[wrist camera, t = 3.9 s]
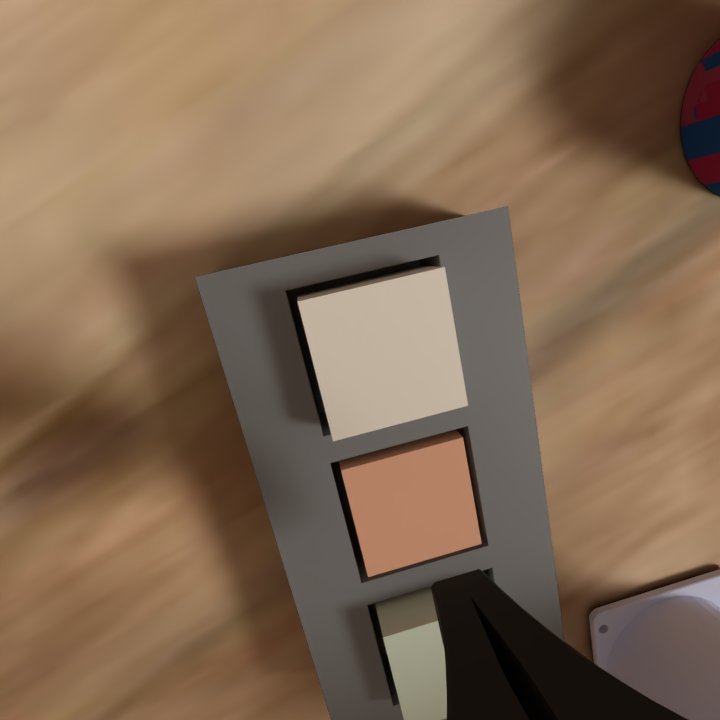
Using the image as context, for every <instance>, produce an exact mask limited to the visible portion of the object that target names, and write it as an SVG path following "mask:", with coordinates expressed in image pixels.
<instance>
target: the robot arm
mask: <svg viewBox="0 0 720 720" xmlns="http://www.w3.org/2000/svg"><path fill="white" fill-rule="evenodd" d="M431 591H432V595H433V600H434V605H435V609H436V614H437V619H438V623H439V628H440V633H441V637H442V642H443V646H444V652H445V664H446V688H447V720H720V569H718V570H715V571H712V572H709V573H706V574H703V575H699V576H696V577H693V578H690V579H687V580H684V581H680V582H677V583H674V584H671V585H668V586H665V587H661V588H658V589H655V590H652V591H649V592H646V593H642V594H639V595H636V596H633V597H630V598H627V599H623V600H620V601H617V602H614V603H611V604H608V605H604V606H601V607H598V608H596V609H594V610H593V611H592V612H591V613H590V615H589V622H590V631H591V640H592V649H593V658H594V663H593V662H592V661H590V660H589V659H587V658H586V657H585V656H583V655H582V654H580V653H579V652H578V651H576V650H575V649H574V648H572V647H571V646H570V645H568V644H567V643H565V642H564V641H563V640H561V639H560V638H559V637H558V636H556V635H555V634H554V633H552V632H551V631H550V630H549V629H547V628H546V627H545V626H544V625H543V624H541V623H540V622H539V621H538V620H536V619H535V618H534V617H533V616H532V615H530V614H529V613H528V612H527V611H526V610H524V609H523V608H522V607H521V606H520V605H519V604H517V603H516V602H515V601H514V600H513V599H512V598H511V597H510V596H508V595H507V594H506V593H505V592H504V591H503V590H502V589H501V588H500V587H499V586H498V585H497V584H496V583H495V582H493V581H492V580H491V579H490V578H489V577H488V576H487V575H486V574H485V573H484V572H483V571H482V570H480V569H477V570H474V571H470V572H467V573H464V574H460V575H457V576H454V577H450V578H447V579H444V580H440V581H437V582H434V583H433V585H432V586H431Z"/></svg>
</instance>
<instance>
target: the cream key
mask: <svg viewBox="0 0 720 720" xmlns="http://www.w3.org/2000/svg"><path fill="white" fill-rule="evenodd" d="M297 302H298V306H299V310H300V314H301V318H302V321H303V325H304V329H305V333H306V337H307V341H308V345H309V349H310V353H311V357H312V361H313V365H314V369H315V373H316V376H317V380H318V384H319V388H320V392H321V396H322V400H323V404H324V408H325V412H326V416H327V420H328V424H329V428H330V431H331V435H332V439H333V441H337V440H341V439H344V438H348V437H352V436H356V435H360V434H363V433H367V432H371V431H375V430H378V429H382V428H386V427H390V426H393V425H397V424H401V423H405V422H409V421H412V420H416V419H420V418H424V417H427V416H431V415H435V414H439V413H442V412H446V411H450V410H454V409H458V408H461V407H465V406H468V401H467V395H466V389H465V383H464V377H463V372H462V366H461V360H460V354H459V348H458V342H457V336H456V330H455V324H454V318H453V312H452V306H451V300H450V295H449V289H448V283H447V277H446V271H445V267H434V266H422V267H418V268H413V269H409V270H405V271H400V272H396V273H392V274H388V275H383V276H379V277H375V278H371V279H366V280H362V281H358V282H354V283H349V284H345V285H341V286H336V287H332V288H328V289H324V290H319V291H315V292H311V293H307V294H302V295H298V296H297Z"/></svg>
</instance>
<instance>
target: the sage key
mask: <svg viewBox="0 0 720 720" xmlns="http://www.w3.org/2000/svg"><path fill="white" fill-rule="evenodd" d="M375 605H376V610H377V614H378V618H379V623H380V627H381V631H382V635H383V640H384V644H385V647H386V651H387V655H388V659H389V663H390V667H391V671H392V675H393V679H394V683H395V687H396V691H397V695H398V698H399V702H400V706H401V710H402V714H403V718H404V720H442V719H445V718H447V688H446V664H445V652H444V646H443V642H442V637H441V633H440V628H439V623H438V619H437V614H436V609H435V605H434V600H433V595H432V591H431V586H430V587H426V588H423V589H420V590H416V591H413V592H410V593H406V594H403V595H400V596H396V597H393V598H390V599H386V600H383V601H380V602H376V603H375Z"/></svg>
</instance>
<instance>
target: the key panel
mask: <svg viewBox="0 0 720 720" xmlns="http://www.w3.org/2000/svg"><path fill="white" fill-rule="evenodd" d="M422 266H434V267H445V271H446V277H447V283H448V289H449V295H450V300H451V306H452V312H453V318H454V324H455V330H456V336H457V342H458V348H459V354H460V360H461V366H462V372H463V377H464V383H465V389H466V395H467V401H468V406H465V407H461V408H458V409H454V410H450V411H446V412H442V413H439V414H435V415H431V416H427V417H424V418H420V419H416V420H412V421H409V422H405V423H401V424H397V425H393V426H390V427H386V428H382V429H378V430H375V431H371V432H367V433H363V434H360V435H356V436H352V437H348V438H344V439H341V440H337V441H333V439H332V435H331V431H330V428H329V424H328V420H327V416H326V412H325V408H324V404H323V400H322V396H321V392H320V388H319V384H318V380H317V376H316V373H315V369H314V365H313V361H312V357H311V353H310V349H309V345H308V341H307V337H306V333H305V329H304V325H303V321H302V318H301V314H300V310H299V306H298V302H297V296H298V295H302V294H307V293H311V292H315V291H319V290H324V289H328V288H332V287H336V286H341V285H345V284H349V283H354V282H358V281H362V280H366V279H371V278H375V277H379V276H383V275H388V274H392V273H396V272H400V271H405V270H409V269H413V268H418V267H422ZM195 279H196V282H197V286H198V289H199V292H200V295H201V299H202V302H203V305H204V308H205V312H206V315H207V318H208V321H209V325H210V328H211V331H212V334H213V338H214V341H215V344H216V347H217V351H218V354H219V357H220V360H221V364H222V367H223V370H224V373H225V377H226V380H227V383H228V386H229V390H230V393H231V396H232V399H233V403H234V406H235V409H236V412H237V416H238V419H239V422H240V425H241V429H242V432H243V435H244V438H245V442H246V445H247V448H248V451H249V455H250V458H251V461H252V464H253V468H254V471H255V474H256V477H257V481H258V484H259V487H260V490H261V494H262V497H263V500H264V503H265V506H266V510H267V513H268V516H269V519H270V523H271V526H272V529H273V532H274V536H275V539H276V542H277V545H278V549H279V552H280V555H281V558H282V562H283V565H284V568H285V571H286V575H287V578H288V581H289V584H290V588H291V591H292V594H293V597H294V601H295V604H296V607H297V610H298V614H299V617H300V620H301V623H302V627H303V630H304V633H305V636H306V640H307V643H308V646H309V649H310V653H311V656H312V659H313V662H314V666H315V669H316V672H317V675H318V679H319V682H320V685H321V688H322V692H323V695H324V698H325V701H326V705H327V708H328V711H329V714H330V718H331V720H404V718H403V714H402V710H401V706H400V702H399V698H398V695H397V691H396V687H395V683H394V679H393V675H392V671H391V667H390V663H389V659H388V655H387V651H386V647H385V644H384V640H383V635H382V631H381V627H380V623H379V618H378V614H377V610H376V605H375V603H376V602H380V601H383V600H386V599H390V598H393V597H396V596H400V595H403V594H406V593H410V592H413V591H416V590H420V589H423V588H426V587H430V586H432V585H433V583H434V582H437V581H440V580H444V579H447V578H450V577H454V576H457V575H460V574H464V573H467V572H470V571H474V570H477V569H480V570H482V571H483V572H484V573H485V574H486V575H487V576H488V577H489V578H490V579H491V580H492V581H493V582H495V583H496V584H497V585H498V586H499V587H500V588H501V589H502V590H503V591H504V592H505V593H506V594H507V595H508V596H510V597H511V598H512V599H513V600H514V601H515V602H516V603H517V604H519V605H520V606H521V607H522V608H523V609H524V610H526V611H527V612H528V613H529V614H530V615H532V616H533V617H534V618H535V619H536V620H538V621H539V622H540V623H541V624H543V625H544V626H545V627H546V628H547V629H549V630H550V631H551V632H552V633H554V634H555V635H556V636H558V637H559V638H560V639H561V640H563V641H564V633H563V625H562V618H561V610H560V602H559V594H558V587H557V579H556V571H555V564H554V556H553V548H552V541H551V533H550V525H549V517H548V510H547V502H546V494H545V487H544V479H543V471H542V463H541V456H540V448H539V440H538V433H537V425H536V417H535V409H534V402H533V394H532V386H531V379H530V371H529V363H528V355H527V348H526V340H525V332H524V325H523V317H522V309H521V301H520V294H519V286H518V278H517V271H516V263H515V255H514V248H513V240H512V232H511V224H510V217H509V209H508V206H506V207H502V208H497V209H493V210H489V211H484V212H480V213H475V214H471V215H466V216H462V217H458V218H453V219H449V220H444V221H440V222H435V223H431V224H427V225H422V226H418V227H413V228H409V229H404V230H400V231H396V232H391V233H387V234H382V235H378V236H373V237H369V238H365V239H360V240H356V241H351V242H347V243H342V244H338V245H334V246H329V247H325V248H320V249H316V250H311V251H307V252H303V253H298V254H294V255H289V256H285V257H280V258H276V259H272V260H267V261H263V262H258V263H254V264H249V265H245V266H241V267H236V268H232V269H227V270H223V271H218V272H214V273H210V274H205V275H201V276H196V277H195ZM455 429H456V431H457V432H458V433H459V434H460V435H461V436H462V437H463V440H464V446H465V451H466V457H467V463H468V469H469V474H470V480H471V486H472V491H473V497H474V503H475V508H476V514H477V520H478V526H479V531H480V537H481V543H482V544H479V545H476V546H472V547H469V548H466V549H462V550H459V551H455V552H452V553H449V554H445V555H442V556H438V557H435V558H432V559H428V560H425V561H421V562H418V563H415V564H411V565H408V566H405V567H401V568H398V569H394V570H391V571H388V572H384V573H381V574H377V575H374V576H371V577H368V575H367V571H366V567H365V563H364V559H363V555H362V551H361V547H360V543H359V539H358V535H357V531H356V527H355V523H354V520H353V516H352V512H351V508H350V504H349V500H348V496H347V492H346V488H345V484H344V480H343V476H342V472H341V468H340V464H339V461H340V460H343V459H347V458H351V457H354V456H358V455H362V454H366V453H369V452H373V451H377V450H380V449H384V448H388V447H392V446H395V445H399V444H403V443H406V442H410V441H414V440H418V439H421V438H425V437H429V436H432V435H436V434H440V433H444V432H447V431H451V430H455ZM564 642H565V641H564Z"/></svg>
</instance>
